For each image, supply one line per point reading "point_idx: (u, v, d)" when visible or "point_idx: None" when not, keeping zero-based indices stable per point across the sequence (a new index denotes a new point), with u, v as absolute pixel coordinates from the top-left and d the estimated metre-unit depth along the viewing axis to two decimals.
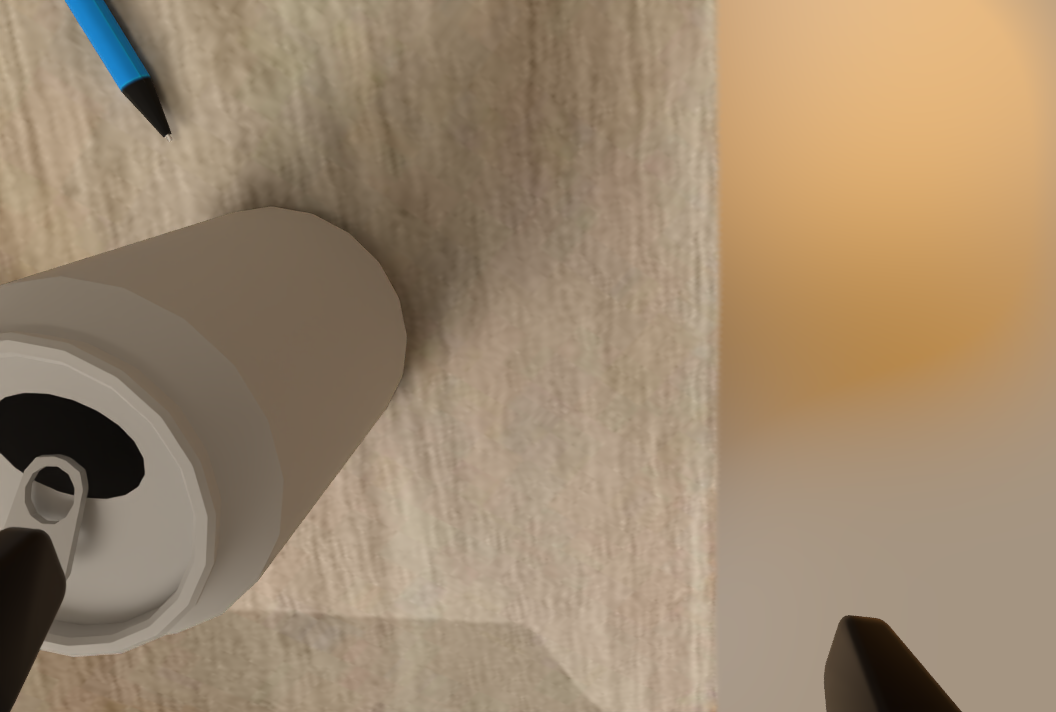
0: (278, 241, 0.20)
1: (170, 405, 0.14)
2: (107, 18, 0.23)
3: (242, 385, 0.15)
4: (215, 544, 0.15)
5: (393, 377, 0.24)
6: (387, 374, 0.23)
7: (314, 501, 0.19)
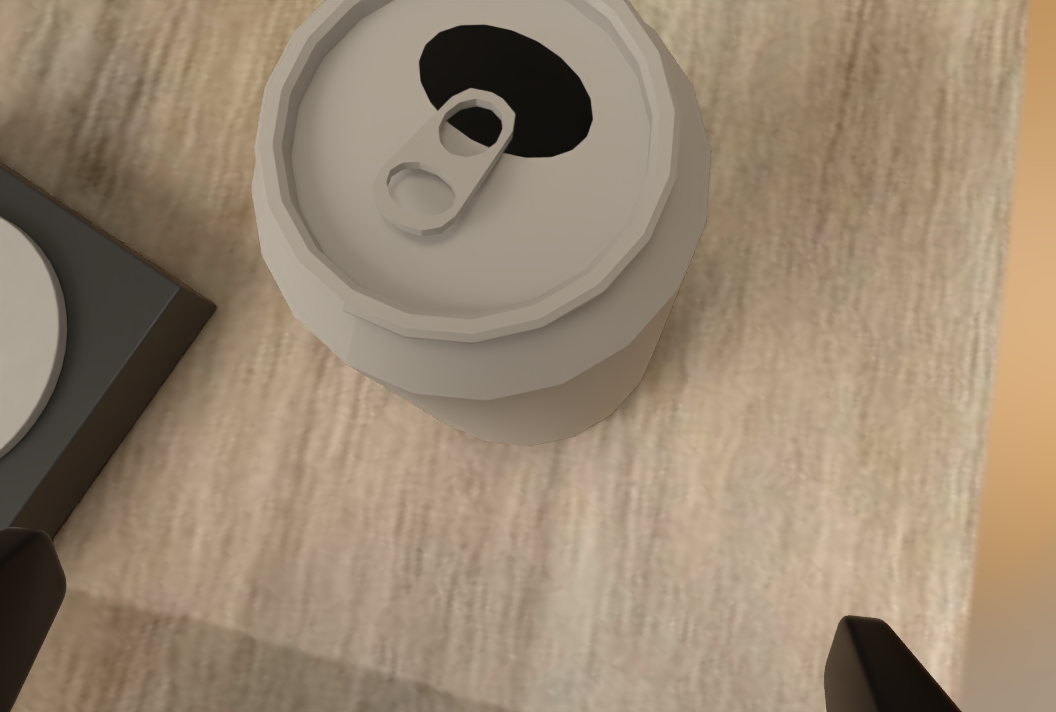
0: None
1: None
2: None
3: (697, 107, 0.14)
4: (654, 223, 0.12)
5: None
6: None
7: (630, 364, 0.16)
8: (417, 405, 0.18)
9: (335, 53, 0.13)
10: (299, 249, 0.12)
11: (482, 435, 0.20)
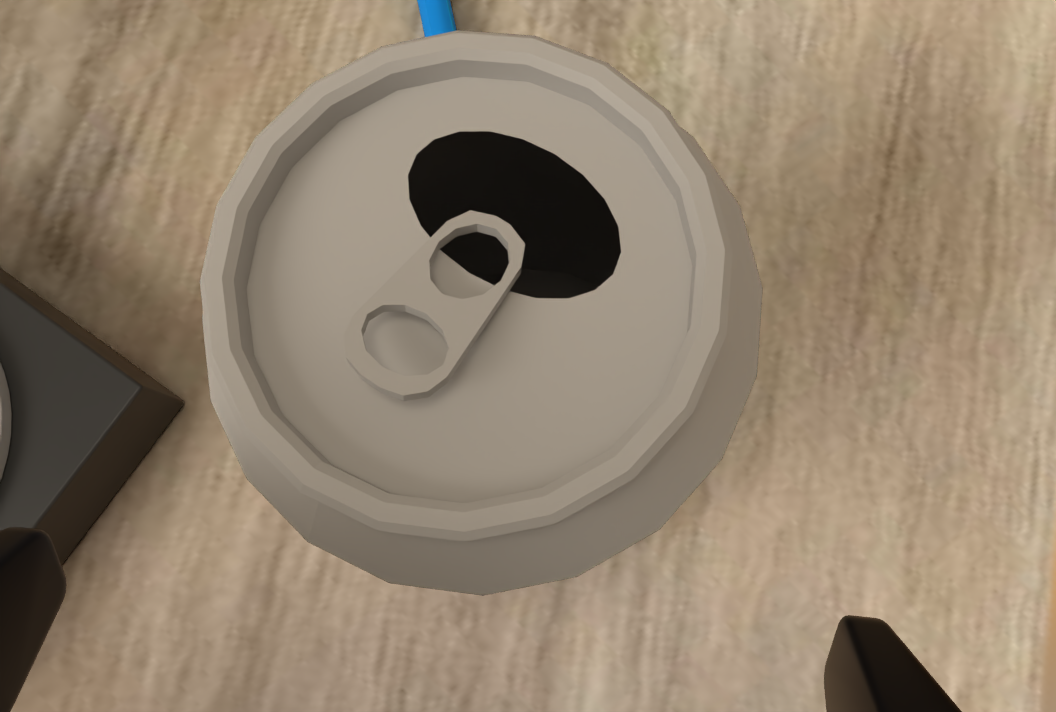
0: None
1: None
2: None
3: (745, 232, 0.11)
4: (698, 389, 0.09)
5: None
6: None
7: None
8: None
9: (306, 161, 0.11)
10: (249, 413, 0.09)
11: None
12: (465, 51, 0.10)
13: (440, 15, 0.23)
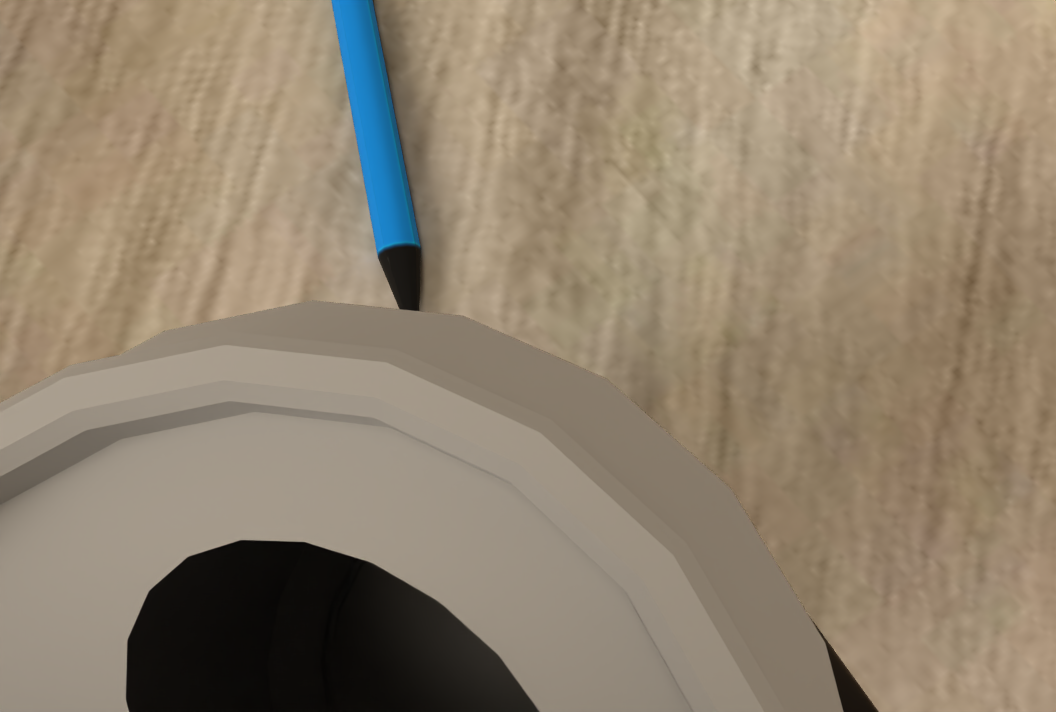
0: None
1: None
2: (402, 168, 0.17)
3: (838, 707, 0.06)
4: None
5: None
6: None
7: None
8: None
9: None
10: None
11: None
12: (245, 383, 0.05)
13: (372, 99, 0.18)
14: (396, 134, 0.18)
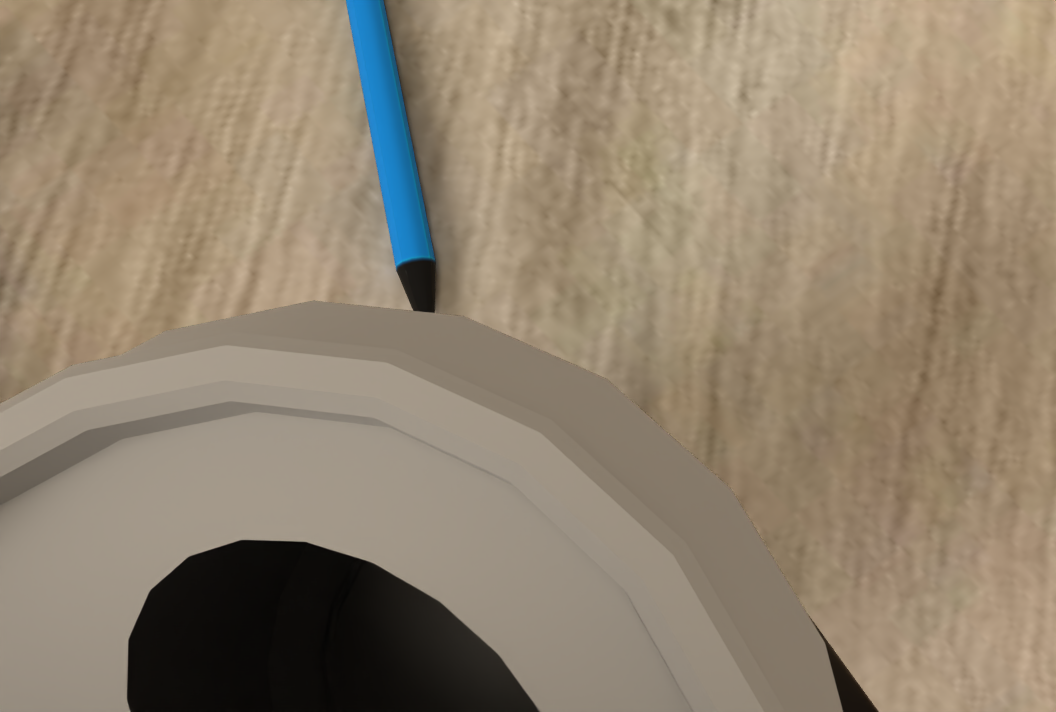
0: None
1: None
2: (418, 188, 0.19)
3: (837, 706, 0.06)
4: None
5: None
6: None
7: None
8: None
9: None
10: None
11: None
12: (246, 383, 0.05)
13: (390, 124, 0.19)
14: (412, 156, 0.19)
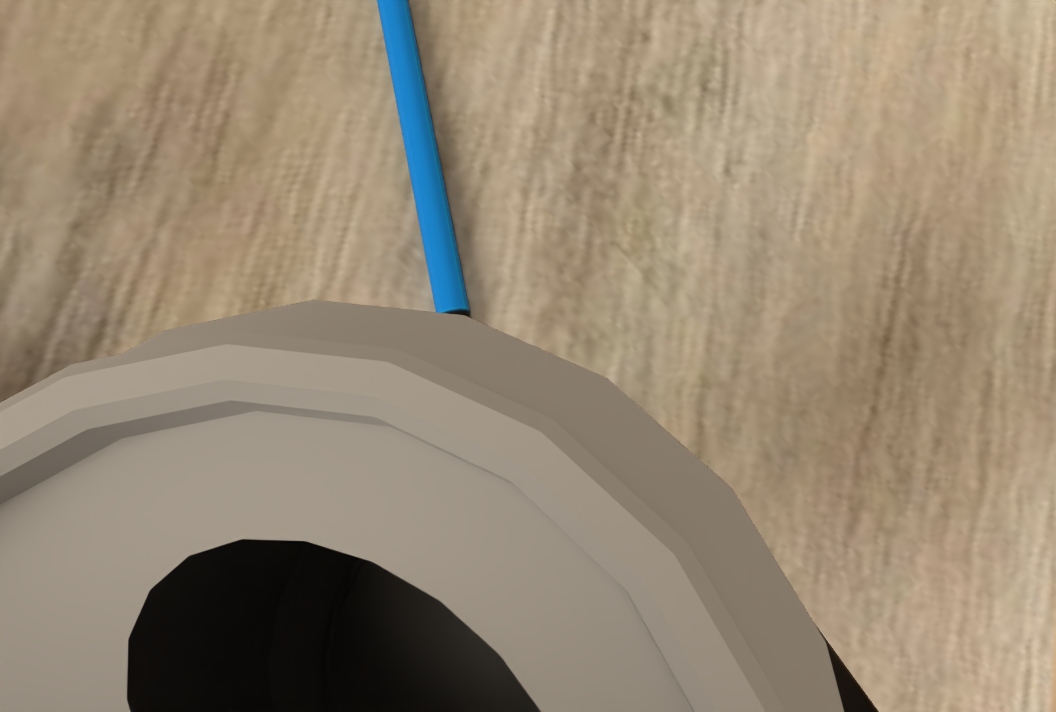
0: None
1: None
2: (455, 249, 0.23)
3: (838, 706, 0.06)
4: None
5: None
6: None
7: None
8: None
9: None
10: None
11: None
12: (246, 382, 0.05)
13: (432, 196, 0.23)
14: (450, 222, 0.23)
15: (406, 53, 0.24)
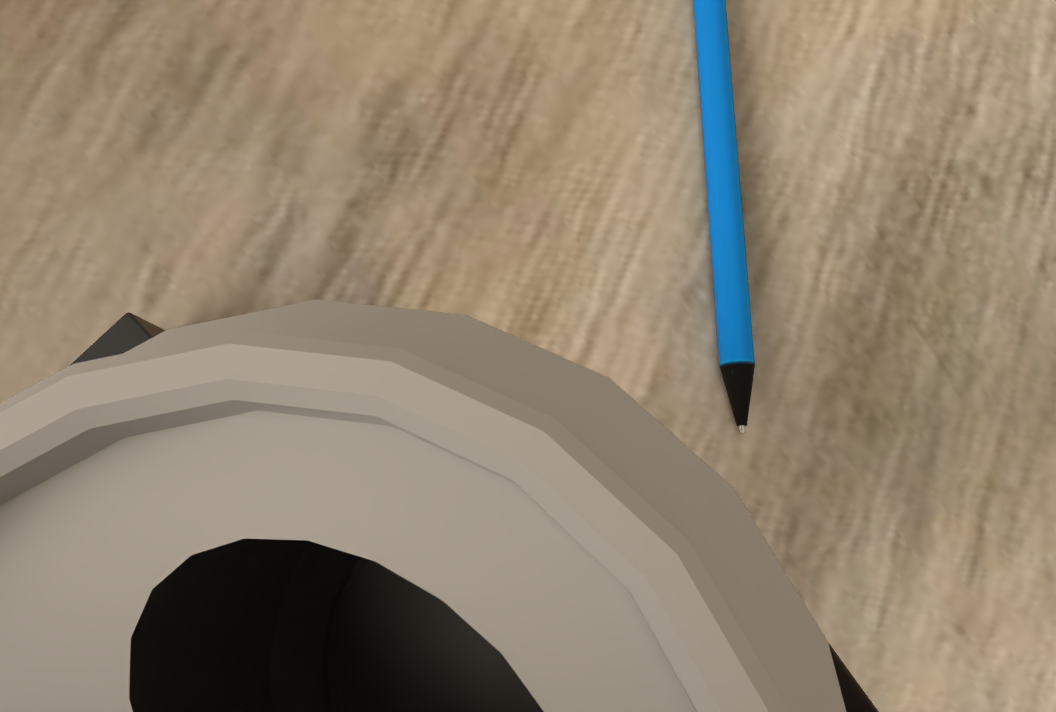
0: None
1: None
2: (748, 298, 0.22)
3: (841, 706, 0.06)
4: None
5: None
6: None
7: None
8: None
9: None
10: None
11: None
12: (248, 382, 0.05)
13: (734, 238, 0.22)
14: (746, 268, 0.22)
15: (723, 83, 0.23)
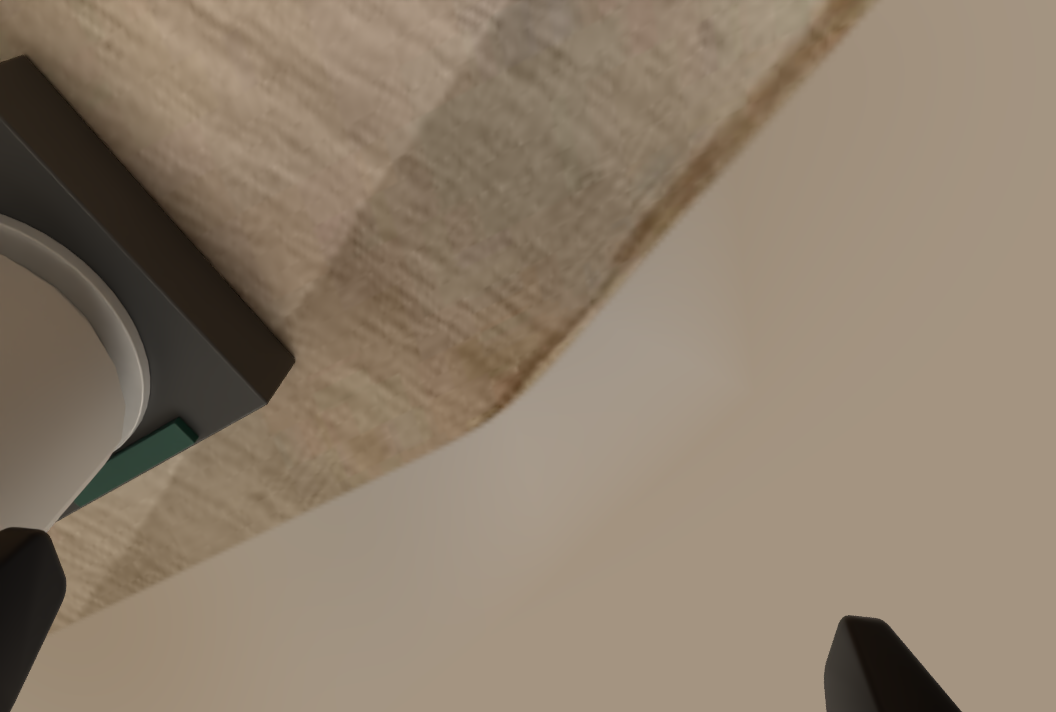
0: None
1: None
2: None
3: None
4: None
5: None
6: None
7: None
8: None
9: None
10: None
11: (76, 451, 0.19)
12: None
13: None
14: None
15: None
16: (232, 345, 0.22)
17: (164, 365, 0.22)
